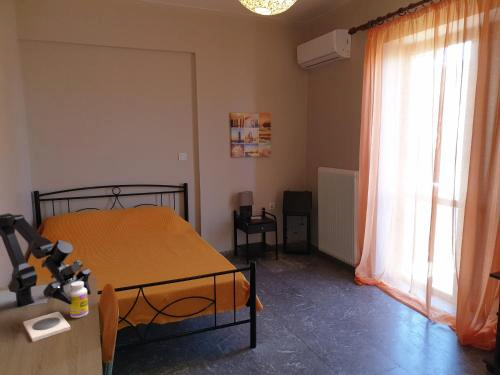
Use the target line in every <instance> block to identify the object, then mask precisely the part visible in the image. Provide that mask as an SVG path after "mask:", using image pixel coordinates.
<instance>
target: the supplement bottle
mask: <svg viewBox="0 0 500 375" xmlns="http://www.w3.org/2000/svg"><path fill="white" fill-rule="evenodd" d="M83 286H84V282H83V281H75V282H72V283H70V291H69V293H68V294H67V296H68V297H69V298H70V300H71V302H72V304H68V305H69V315H70V317H71V318H73V319H78V318H83V317H85V316H87V315H88V314H89V298H88V296H89V295H88V294H87V289H86V288H84V287H83Z"/></svg>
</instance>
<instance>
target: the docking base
mask: <svg viewBox="0 0 500 375" xmlns="http://www.w3.org/2000/svg"><path fill="white" fill-rule="evenodd" d="M23 326H24V328H25V330H26V332H27V334H28V335H29V338H30V339H31V341H32V343H33V342H37V341H39V340H43V339H45V338H48V337H52V336H54V335H55V336H56V335H58V334H60V333H64V332H67V331H70V330H71V329H72V328H71V325H70V324H69V323H68V321H67V320H66V319H65V317H64V316H63V315H62V313H61V312H60V311H55V312H52V313H48V314H44V315H42V316H38V317H35V318H31V319H28V320H24V321H23Z"/></svg>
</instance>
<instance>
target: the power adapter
mask: <svg viewBox="0 0 500 375" xmlns="http://www.w3.org/2000/svg"><path fill="white" fill-rule="evenodd" d="M55 281H57V280H56V279H55V278H54V282H55ZM63 288H64V292H65V293H69V291H70V290H71V283H70V284H68V285H66V286H63Z"/></svg>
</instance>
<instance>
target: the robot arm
mask: <svg viewBox="0 0 500 375" xmlns="http://www.w3.org/2000/svg"><path fill="white" fill-rule="evenodd" d="M25 218H26V217H25V216H24V215H23V214H11V213H9V212H8V213H2V214H0V237H1V239H2V242H3V245H4V247H5V250H6V253H7V256H8V259H9V261H10V263H11V265H12V268H13V270H12V273H11V279H12V281H11V283H10V284H9V285H8V290H9V292H11V293H14V294H15V300H14V301H13V302H14V305H15V306H16V308H18V307H22V306H25V305H29V304H33V303H35V299H34V298H33V295H32V287H36V286H37V280H38V273H37V271H36V268H35V266H34V265H30V264H28V263H27V261H26V260H27V259H26V258H25V255H24V253H23V250H22V247H21V244H20V243H19V240H18V237H17V235H16V234H17V233H18V234H19V235H20V236H21V237H22V238H23V240H25V242H26V243H27V244H28V245H29V252H30V253H31V254H32V255H33V257H34V258H35V259H36V260H37V259H38V260H41V259H43V260H42V261H41V263H42V264H41V268H45V267H46V269H47V270H48V271H49V273H50V274H51V275H50V278H51V279H52V280H53V279H54V281H53V282H50V283H48V284H47V285H46V287H45V288H44V290H43V293H42V294H43V295H44V298H50V299H56V300H58V301H61V302H64V303H66V304H67V305H69V304H72V302H71V300H70V298H69V295H68V294H66V293H65V292H64V288H63V286H66V285H68V284H70V285H71V283H73V282H76V281H83V282H84V286H83V287H84V288H86V289H87V296H90V295H91V294H92V292H91V289H90V284H89V277H90V276H91V274H92V271H91V270H90V268H83V266H84V264H83V262H82V261H81V260H80V259H78V260H77V259H76V260H75V261H74V262H73V263H72V264H71V265H70V264H68V263H66V264H65V261H66V259H68V257H69V256H70V254H71V253H72V252H73V249H74V248H73V245H72V243H69V242H67V241H64V240H62V239H58V240H56V242H55V243H53V242H52V241H51V240H50V239H48V238H46V237H44V236H41V235H40V234H39V233H38V231H36V230H35V228H34V227H33V226H32V225H31V224H30V223H29V222H28V221H27V220H26V219H25ZM15 231H17V233H16V232H15ZM44 258H45V259H44ZM82 268H83V269H82ZM55 279H56V280H57V281H55Z"/></svg>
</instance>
